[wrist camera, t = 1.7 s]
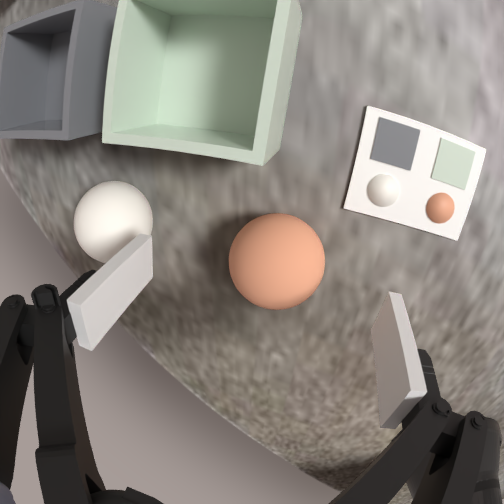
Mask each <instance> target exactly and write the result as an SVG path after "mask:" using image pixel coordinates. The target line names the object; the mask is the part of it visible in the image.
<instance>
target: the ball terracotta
mask: <svg viewBox="0 0 504 504" xmlns="http://www.w3.org/2000/svg"><path fill="white" fill-rule="evenodd" d="M324 268H325V255H324V250H323V246H322V244H321V241H320V239H319V237H318V236H317V234H316V233H315V231H314V230H313V229H312V228H311V227H310V226H309V225H308V224H306V223H305V222H304V221H302V220H300V219H299V218H296V217H294V216H291V215H288V214H281V213H274V214H266V215H262V216H260V217H257V218H255V219H253V220H252V221H250V222H249V223H247V224H246V225H245V226H244V227H243V228H242V229H241V230H240V231H239V232H238V234H237V235H236V237H235V239H234V241H233V243H232V245H231V248H230V253H229V270H230V275H231V278H232V280H233V282H234V284H235V286H236V288H237V289H238V291H239V292H240V293H241V294H242V295H243V296H244V297H245V298H246V299H247V300H249V301H250V302H251V303H253V304H255V305H257V306H260V307H262V308H266V309H273V310H281V309H287V308H291V307H294V306H296V305H298V304H300V303H302V302H304V301H305V300H306V299H308V298H309V297H310V296H311V295H312V294H313V293H314V291H315V290H316V289H317V287H318V285H319V284H320V282H321V279H322V277H323V273H324Z"/></svg>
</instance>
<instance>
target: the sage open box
mask: <svg viewBox="0 0 504 504" xmlns="http://www.w3.org/2000/svg"><path fill="white" fill-rule="evenodd" d="M302 18H303V16H302V12H301V8H300V4H299V1H298V0H119V3H118V8H117V13H116V18H115V23H114V29H113V35H112V41H111V47H110V54H109V61H108V69H107V78H106V88H105V99H104V112H103V129H102V143H109V144H120V145H130V146H139V147H148V148H156V149H164V150H171V151H178V152H185V153H192V154H199V155H205V156H211V157H218V158H223V159H229V160H235V161H240V162H246V163H251V164H256V165H262V166H263V165H264V164H265V163H266V162H267V161H268V160H269V159H270V158H271V157H272V156H273V155H274V154H275V153H276V152H277V151H278V150H279V149H280V145H281V139H282V134H283V128H284V122H285V117H286V111H287V105H288V100H289V94H290V88H291V82H292V76H293V71H294V65H295V59H296V53H297V47H298V41H299V35H300V29H301V24H302Z"/></svg>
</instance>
